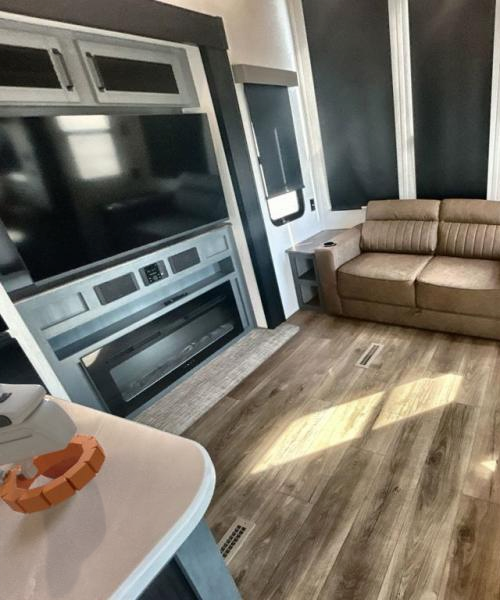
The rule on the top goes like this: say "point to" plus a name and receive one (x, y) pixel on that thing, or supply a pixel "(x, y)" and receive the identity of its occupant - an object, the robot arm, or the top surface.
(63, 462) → the apple
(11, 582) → the top surface
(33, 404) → the robot arm
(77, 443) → the orange ring
